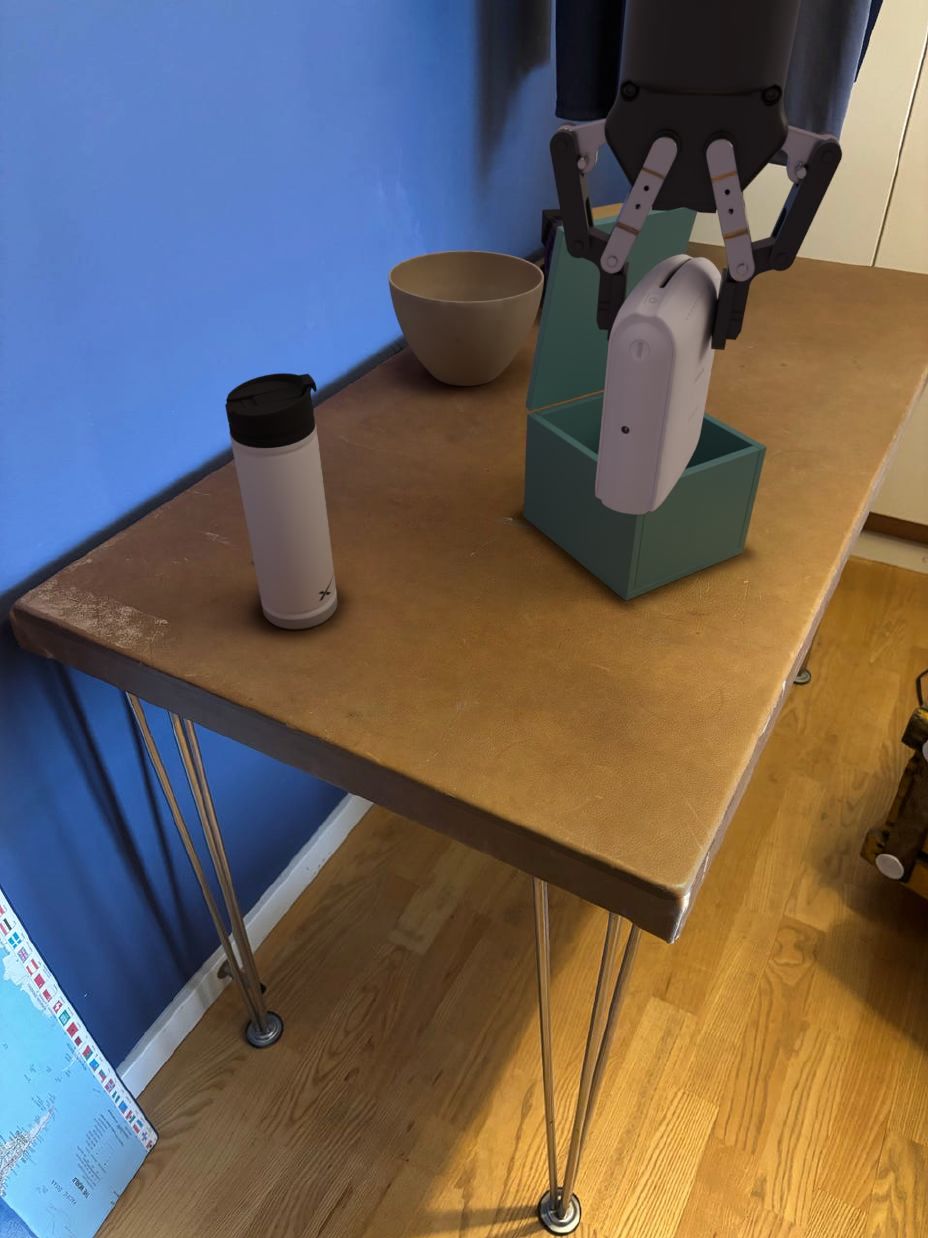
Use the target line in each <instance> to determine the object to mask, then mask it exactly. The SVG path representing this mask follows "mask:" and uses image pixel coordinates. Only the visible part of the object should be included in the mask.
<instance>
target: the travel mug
mask: <svg viewBox="0 0 928 1238" xmlns="http://www.w3.org/2000/svg"><path fill="white" fill-rule="evenodd" d="M312 390H313V392H315V393H316V392H318V388H317V384H316V382H315V380H314V378H313V377H312V376H311V375H310V374H309V373H304V374H296V373H287V372H286V373H285V372H281V373H280V372H279V373H271V374H265V375H260V376H258V377H254V378H251V379H249V380H246V381H244V382H242V383H240V384H239V385H237V386H236V387H234V388H233V389H232V390H231V391H230V392H228V394H227V397H226V400H225V401H226V403H225V404H224V407H225V412H226V416H227V422H228V429H229V432H228V433H229V438H230V442H231V448H232V454H233V459H234V463H235V470H236V475H237V480H238V485H239V490H240V495H241V496H240V497H241V502H242V507H243V511H244V512H243V513H244V517H245V523H246V528H247V533H248V538H249V543H250V549H251V554H252V559H253V565H254V570H255V576H256V580H257V586H258V591H259V596H260V597H259V598H260V602H261V607H262V612H263V616H264V617H265V619H266V620H267V621H268V622H270V623H271V624H272V625H274V626H276V627H279V628H281V629H287V630H303V629H309V628H313V627H315V626H318V625H320V624H322V623H324V622H325V621H327V620H329V619H330V618H331V617H332V616H333V614H334V613H335V611H336V610H337V609H338V601H339V600H338V593H337V587H336V586H337V585H336V584H337V583H336V577H335V568H334V559H333V552H332V551H333V550H332V543H331V535H330V527H329V519H328V511H327V501H326V494H325V487H324V478H323V471H322V469H323V468H322V462H321V454H320V445H319V437H318V432H317V423H316V419H315V415H314V411H315V410H314V405H313V401H312Z"/></svg>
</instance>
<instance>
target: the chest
mask: <svg viewBox="0 0 928 1238" xmlns="http://www.w3.org/2000/svg"><path fill="white" fill-rule="evenodd" d="M603 399H604V391H601V392H597V393H595V394H594V393H593V394H590V395H588V396H587V395H586V396H583V397H581V398H580V397H579V398H578V399H577V398H576V399H574V400H573V399H572V400H569V401H566V402H563V403H560V404H556V405H553V406H550V407H549V406H548V407H546V408H543V409H542V408H541V409H539V410H534V411H533V412H532V411H531V412H529V413H527V414H526V434H525V435H526V437H525V438H526V439H525V460H524V462H525V463H524V490H523V513H522V514H523V516H522V517H523V518H524V519H525V520H527V521H528V522H529V523H530V524H532V525H533V526H534V527H535V528H536V529H538V530H539V531H540V532H541V533H543V534H544V535H545V536H546V537H547V538H549V539H550V540H551V541H552V542H553V543H554V544H556V545H557V546H558V547H560V548H561V549H562V550H563V551H565V552H566V553H567V554H568V555H569V556H571V558H573V559H574V560H575V561H577V562H578V563H579V564H580V565H581V566H583V567H584V568H585V569H587V570H588V571H589V572H590V573H591V574H592V575H593V576H595V578H597V579H598V580H600V581H601V582H602V583H603V584H604V585H606V586H607V587H608V588H609V589H610V590H612V591H613V592H614V593H615V594H617V595H618V596H619V597H620V598H622V600H624V601H629V600H632V599H634V598H637V597H639V596H642V595H643V594H646V593H649V592H651V591H653V590H656V589H658V588H660V587H663V586H665V585H668V584H670V583H673V582H675V581H677V580H680V579H683V578H685V577H687V576H691V575H692V574H695V573H697V572H700V571H702V570H704V569H707V568H709V567H712V566H714V565H717V564H719V563H722V562H724V561H726V560H729V559H731V558H734V557H737V556H739V555H742V554H743V553H744V551H745V546H746V541H747V537H748V532H749V528H750V523H751V518H752V515H753V510H754V505H755V501H756V497H757V492H758V489H759V483H760V480H761V476H762V475H761V474H762V470H763V465H764V461H765V456H766V452H767V449H768V447H767V446H766V445H764V444H763V443H761V442H759V441H757V440H755V439H754V438H752V437H750V436H748V435H746V434H744V433H743V432H741V431H739V430H737V429H735V428H734V427H732V426H730V425H729V424H726V423H725V422H723V421H721V420H720V419H718V418H716V417H714V416H713V415H711V414H708V413H707V412H705V411H704V416H703V421H702V427H701V432H700V437H699V440H698V443H697V446H696V449H695V451H694V453H693V455H692V457H691V459H690V460H689V462H688V464H687V466H686V468H685V469H684V471H683V473H682V474H681V476H680V478H679V479H678V481H677V482H676V484H675V485H674V487H673V488H672V490H671V491H670V493H669V494H668V496H667V497H666V498H665V500H664V501H663V502H662V504H661V505H660V506H659V507H658V508H657V509H655V510H654V511H647V512H646V513H645V514H627V513H622V512H618V511H615V510H612V509H610V508H608V507H607V506H605V505H604V504H603V503H602V500H601V499H599V498H597V497H596V495H595V483H596V473H597V463H598V453H599V442H600V432H601V422H602V411H603Z"/></svg>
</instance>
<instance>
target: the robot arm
mask: <svg viewBox="0 0 928 1238" xmlns="http://www.w3.org/2000/svg"><path fill="white" fill-rule="evenodd" d="M801 4H802V0H625V9H624V19H623V20H624V22H623V31H622V43H621V44H622V45H621V56H620V67H619V78H618V88H617V94H616V98H615V100H614V103H613V105H612V106H611V108H610V110H609V111H608V114H607V116H606V118H604V119H600V120H595V121H591V122H587V123H583V124H578V125H577V124H576V123H574V122H572V121H565V122H563V123H561V124H560V126H559V127H558V128H557V130H556V131H555V132H554V134H553V136H552V137H551V139H550V141H549V152H550V158H551V162H552V169H553V176H554V181H555V187H556V188H555V189H556V193H557V199H558V205H559V209H560V211H561V217H562V223H563V229H564V235H565V240H566V246H567V251H568V253H569V254H570V255H571V256H572V257H574V258H584V259H587V260H589V261H591V262H593V263H594V264H595V265H596V266H597V267H598V269H599V272H600V281H599V293H598V305H597V317H596V321H597V324H598V327H599V330H608V335H607V341H609V339H610V334H611V330H612V327H613V324H614V322H615V319H616V317H617V314H618V312H619V310H620V308H621V306H622V305H623V303H624V302H625V300H626V292H627V283H628V273H629V263H630V262H626V259H627V256H628V254H629V252H630V250H631V248H632V246H633V244H634V242H635V239H636V237H637V235H638V234H639V232H640V230H641V228H642V226H643V224H644V222H645V220H646V218H647V215H648V213H649V211H650V209H652V210H657V211H670V210H674V209H679V208H688V209H691V210H694V211H697V213H699V214H700V213H701V214H717V216H718V222H719V226H720V232H721V237H722V240H723V244H724V249H725V250H724V251H725V254H726V260H727V264H726V267H723V268H722V270H721V274H720V275H721V281H720V287H719V293H718V299H717V306H716V312H715V318H714V324H713V330H712V337H711V349H715V350H717V351H718V350H719V351H725V349H726V344H727V340H730V341H736V340H737V338H738V337H739V335H740V334H741V332H742V329H743V323H744V318H745V312H746V308H747V304H748V303H747V302H748V296H749V291H750V286H751V283H752V281H753V280H754V279H755V278H756V277H757V276H758V275H761V274H762V273H766V272H769V271H776V272H784V271H787V270H788V269H790V268H791V267H792V266H793V264H794V262H795V260H796V257H797V255H798V253H799V251H800V249H801V247H802V245H803V243H804V240H805V239H806V236H807V234H808V232H809V230H810V228H811V226H812V223H813V221H814V219H815V217H816V215H817V213H818V211H819V208H820V206H821V204H822V202H823V199H824V198H825V195H826V193H827V191H828V189H829V187H830V185H831V182H832V180H833V178H834V176H835V174H836V172H837V170H838V168H839V166H840V163H841V161H842V158H843V149H842V147H841V144H840V141H839V140H838V138H837V137H836V135H835V134H834V133H833V132H831V131H821V132H819V133H816V132H812V131H808V130H806V129H801V128H799V127H796V126H794V125H793V126H792V125H790V124H789V121H788V117H787V113H786V111H785V106H784V105H785V104H784V97H785V88H786V85H787V80H788V79H787V78H788V72H789V67H790V62H791V57H792V51H793V46H794V42H795V41H794V40H795V34H796V30H797V23H798V19H799V13H800V8H801ZM606 144H607V145H608V147H609V149H610V151H611V153H612V155H613V156H614V158H615V160H616V162H617V163H618V165H619V167H620V169H621V170H622V172H623V174H624V176H625V177H626V179H627V181H628V183H629V184H630V188H629V189H628V192H627V195H626V197H625V198H624V201H623V202H622V203H623V206H622V208H621V210H620V213H619V215H618V217H617V220H616V222H615V224H614V226H613V228H612V231H611V233H610V234H608V233H606V232H604V231H601V230H599V229H597V228H595V227H594V220H593V214H592V208H593V207H592V201H591V194H590V188H589V182H588V181H589V180H588V175H587V174H588V173H590V172H592V171H593V170H594V168H595V166H596V164H597V161H598V159H599V158H598V157H599V155H598V154H599V153H598V152H599V149H600V148H601V147H602V146H604V145H606ZM780 151H783V152H784V153H785V154H786V155H787V162H786V165H785V171H786V174H787V179H788V180H789V181H790V182H792V186H791V188H790V190H789V192H788V195H787V197H786V198H785V201H784V203H783V205H782V207H781V211H780V213H779V215H778V216H777V220H776V222H775V224H774V226H773V228H772V231H771V233H770V236H769V237H765V238H762V239H758V240H754V241H752V235H751V230H750V224H749V217H748V210H747V206H746V200H745V194H744V191H745V190H746V189H747V188H748V186H750V184H751V183H752V182H753V181H754V180H755V179H756V178H757V177H758V176H759V174H760V173H761V172H762V171H763V170H764V169H765V167H766V166H768V164H769V163H770V162H772V160H773V159H774V158H775V157H776V155H777V154H778V153H780Z"/></svg>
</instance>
